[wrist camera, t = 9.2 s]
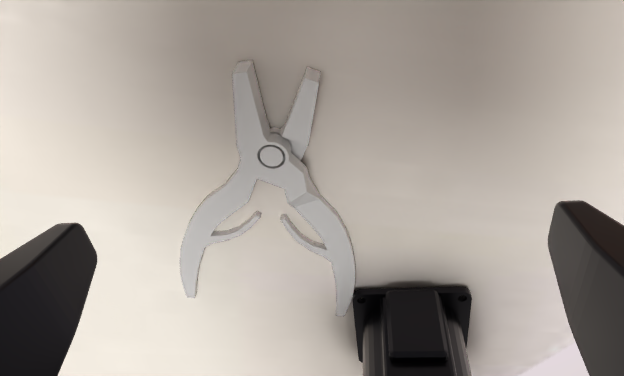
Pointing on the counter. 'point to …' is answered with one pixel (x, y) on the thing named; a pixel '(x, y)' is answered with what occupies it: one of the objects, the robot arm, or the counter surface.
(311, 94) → the pliers
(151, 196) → the counter surface
